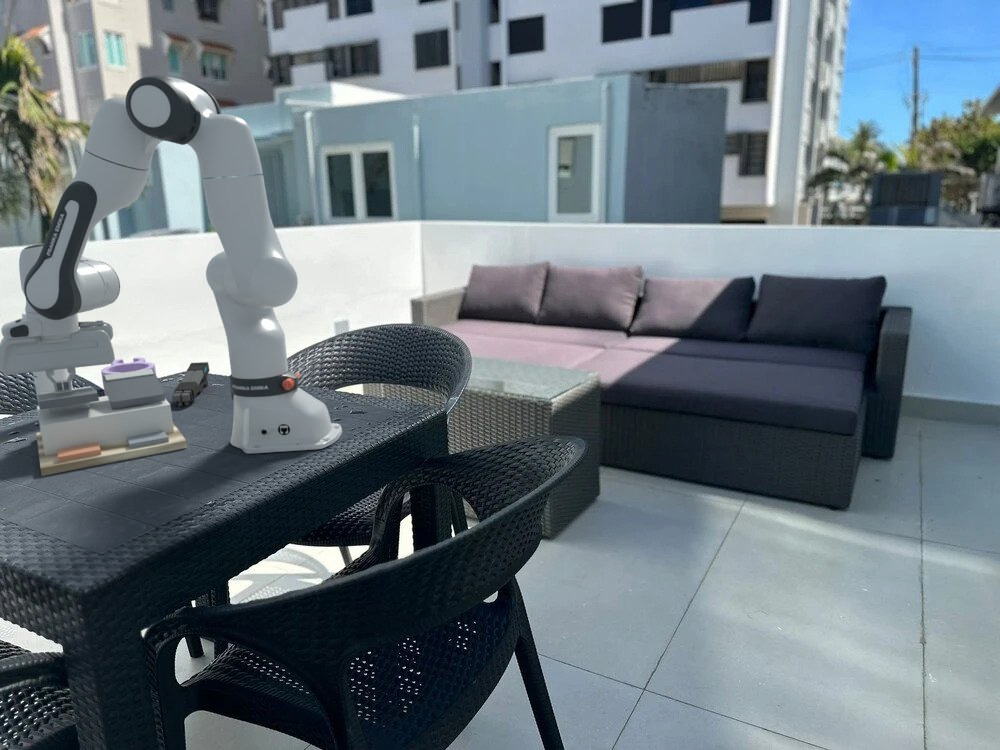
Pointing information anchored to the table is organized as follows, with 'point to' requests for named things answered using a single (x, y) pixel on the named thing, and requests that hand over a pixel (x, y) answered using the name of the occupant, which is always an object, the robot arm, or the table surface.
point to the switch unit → (103, 434)
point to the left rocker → (67, 397)
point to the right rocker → (133, 388)
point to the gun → (191, 383)
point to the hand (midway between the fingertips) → (63, 389)
